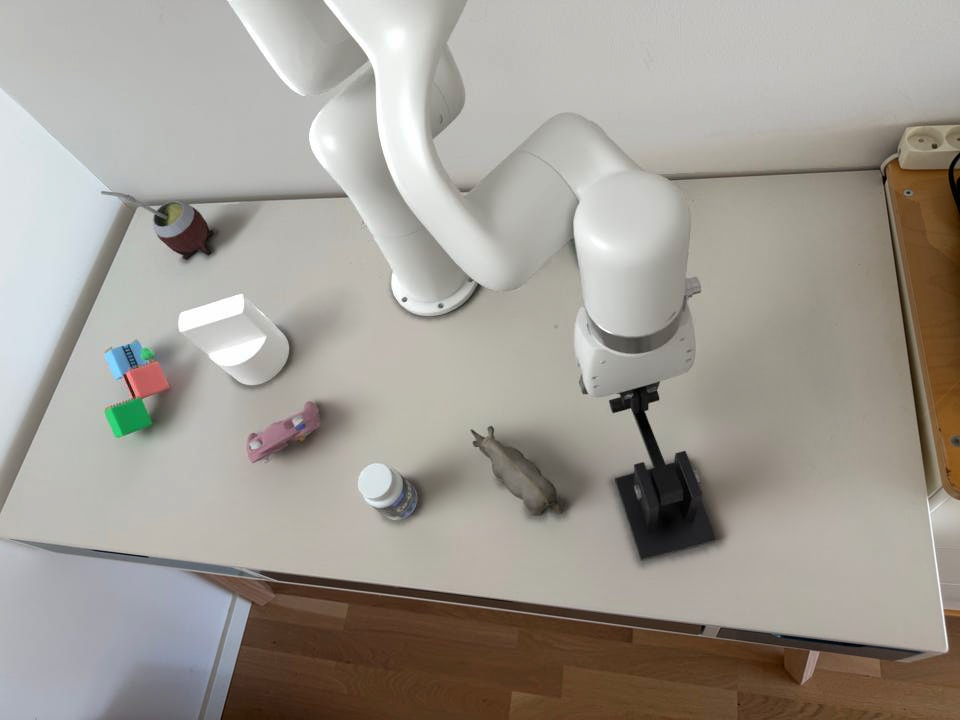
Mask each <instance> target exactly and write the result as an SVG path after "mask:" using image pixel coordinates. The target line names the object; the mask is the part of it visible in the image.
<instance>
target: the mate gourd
mask: <svg viewBox="0 0 960 720" xmlns="http://www.w3.org/2000/svg"><path fill="white" fill-rule="evenodd" d="M100 194H101V195H105V196H113V197H118V198H121V199H125V200H126V201H128V202H129V203H134V204H135V205H137V206H139V207H141V208H142V209H144V210H147V211H148V212H150V213H152V214H153V217H152V227H153V230H154V233H155V235H156V236H157V237H158V239H159V240H160V241H161V242H162V243H164V244H165V245H166V246H167V248H169V249H170V250H172V251H173V252H175V253H176V254H179V255H181V256H182V259H184V260H185V261H188V260H189V259H190V258H191V257H192V256H193V255H194V254H195V253H197V252H198V251H199V250H200V251H201V252H202V253H203V254H205V255H206V256H208V257H209V256H210V255H211V254H212V251H211V250H210V249H209V248H208V247H206V246H205V244H206V243H207V242H208V241H209V240H210V239H211V238H212V237H213V236H215V232H214V231H213V229H210V227H209V225H208V223H207V221H206V219H205V217H203V215H202V214H201V212H200V211H199V210H198V209H196V208H195V207H193V205H191V204H189V203H188V202H185V201H181V200H171V201H167V202H165V203H163V204H162V205H161V206H159V207H158V208H157V209H154V208H152V207H150V206H149V205H147V204H145V203H144V202H142V201H139V200H138V199H136V198H135V197H134V196H132V195H130V194H125V193H121V192H116V191H106V190H101V191H100Z"/></svg>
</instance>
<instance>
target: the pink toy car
mask: <svg viewBox="0 0 960 720" xmlns="http://www.w3.org/2000/svg"><path fill="white" fill-rule="evenodd" d="M319 422H320V411H319V408H318V406H317V405H316V404H315V403H314V402H313V401H311V400H308V401H306V402H305V403H304V407H303V410H302V411H300V412H298V413H296V414H294V415H291V416H289V417H288V418H286V419H283V420H279V421H275V422H273V423H271V424H270V425H269V426H268V427H266V428H265V429H264V430H263V432H261V433H259V434H258V433H255V432H252V433H250V434H248V437H247V442H246V448H245V449H246V452H247V457H248V458H249V460H250V462H251V463H252V464H255V463H257V462H262V464H268V463H270V462H271V461H272V459H273V457H271V456H272V455H273V454H275V453H277V452H279V451H281V450H283V449H285V448H286V447H288V446H289V444H288V442H287V441H289V440H291V439H292V441H293V442H297V441H300V442H302V441H305V440H306V438H307V437H306V436H308V435H309V434H311V433H313V431H314V430H316V429H318V428H320V424H319Z"/></svg>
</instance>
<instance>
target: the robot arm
mask: <svg viewBox="0 0 960 720" xmlns="http://www.w3.org/2000/svg"><path fill="white" fill-rule="evenodd" d="M226 2H227V3H228V4H229V6H230V7H231V9H232V10H233V12H234V13H235V15H236V16H237V17H238V19H239V20H240V22H241V24H242V25H243V26H244V28H245V30H246V31H247V32H248V34H249V35H250V36H251V38H252V39H253V41H254V42H255V44H256V46H257V47H258V49H259V50H260V51H261V53H262V54H263V56H264V57H265V59H266V60H267V61H268V63H269V64H270V66H271V67H272V68H273V70H274V72H275V73H276V74H277V75H278V76H279V77H280V79H281V81H283V82H284V84H286V85H287V86H288V87H289V88H290V89H291V90H292V91H293V92H295V93H297V94H299V95H300V96H304V97H308V98H312V97H319V96H321V95H323V94H326V93H328V92H330V91H331V90H333V89H334V88H336V87H338V86H339V85H340V84H342V83H343V82H344V81H345V80H347V79H348V78H349V77H351V76H352V75H353V74H354V73H355V72H357V71H358V70H359V69H361V67H363V66H364V65H365V64H366V63H368V62H369V61H370V64H371V66H370V67H369V68H367V69H366V70H365V71H364V72H362V73H361V74H359V75H358V76H357V77H356V78H354V79H353V80H352V81H351V82H350V83H349V84H347V85H346V86H345V87H344V88H342V90H340V91H339V92H338V93H337V94H335V96H333V97H332V98H331V99H330V100H329V101H328V102H327V103H326V104H325V105H324V106H323V107H322V108H321V109H320V110H319V112H318V113H317V114H316V116H315V118H314V119H313V121H312V123H311V127H310V129H309V136H308V137H309V145H310V147H311V150H312V152H313V154H314V156H315V157H316V159H317V161H318V162H319V163H320V165H321V166H322V168H323V169H324V170H325V171H326V172H327V173H328V174H329V175H330V176H331V178H332V179H333V180H334V181H335V182H336V183H337V185H338V186H339V187H340V188H341V189H342V191H343V192H344V193H345V194H346V196H347V197H348V199H349V200H350V201H351V202H352V204H353V206H354V207H355V209H356V211H357V212H358V214H359V215H360V217H361V218H362V220H363V222H364V224H365V226H366V227H367V229H368V230H369V232H370V233H371V235H372V238H373V239H374V241H375V243H376V244H377V246H378V248H379V249H380V251H381V253H382V254H383V256H384V258H385V260H386V262H388V265H389V266H390V268H391V270H392V273H391V279H390V282H391V283H390V285H391V290H392V293H393V296H394V297H395V299H396V301H397V302H398V303H399V305H400V306H401V307H402V308H403V309H405V310H406V311H408V312H410V313H412V314H413V315H418V316H421V317H423V316H424V317H433V316H435V317H437V316H441V315H444V314H448V313H449V312H452V311H454V310H456V309H458V308H459V307H461V306H463V305H464V303H466V302H467V301H468V300H469V299H470V297H471V296H472V295H473V294H474V292H475V290H476V288H477V286H478V284H479V285H480V286H482V287H484V288H486V289H488V290H490V291H495V292H499V293H505V292H510V291H513V290H517V289H519V288H521V287H522V286H524V285H525V284H527V283H528V282H529V281H530V280H532V279H533V277H535V276H536V275H537V273H538V272H540V270H542V269H543V268H544V267H545V266H546V265H547V264H548V263H549V262H550V261H551V260H552V259H553V258H554V257H556V255H557V254H558V253H559V252H560V251H562V250H563V248H564V247H565V246H567V244H568V243H569V242H570V241H572V238H573V237H574V239H575V246H576V250H575V253H576V252H577V253H576V258H577V264H578V271H579V278H580V283H581V285H580V286H581V291H582V299H583V302H584V303H583V305H582V306H581V307H579V310H578V312H577V314H576V318H575V321H574V329H573V347H574V356H575V361H576V365H577V367H580V369H581V374H580V377H579V381H578V384H579V388H580V391H581V393H582V395H589V396H591V397H593V398H604V397H609V396H612V395H619V397H621V400H622V403H623V405H624V406H625V405H628V404H630V407H631V409H630V410H631V413H632V415H633V414H637V413H638V412H639V411H640V409H641V411H643V412H644V411H645V412H647V411H649V409H650V407H649V405H650V403H649V399H650V398H653V392H654V391H656V390H657V391H658V389H659V387H660V385H661V382H663V381H667V380H670V379H673V378H675V377H679V376H681V375H684V374H686V373H688V372H689V371H690V370H691V369H692V367H693V366H694V364H695V360H696V352H697V350H696V349H697V346H696V334H695V326H694V321H693V317H692V313H691V309H690V306H689V303H688V301H689V299H690V298H693V296H694V295H698V294H702V285H701V282H700V279H699V278H698V276H692V277H689V278H687V269H688V260H689V249H690V241H691V240H690V239H691V229H692V214H691V208H690V204H689V202H688V200H687V197H686V196H685V195H684V192H682V190H681V188H680V187H678V185H676V184H675V183H674V182H673V181H671V180H670V179H669V178H667V177H665V176H663V175H661V174H659V173H656V172H652V171H648V170H645V169H643V168H642V166H640V164H638V163H637V162H636V161H635V160H633V158H631V157H630V156H629V155H628V154H627V153H626V152H625V151H624V150H623V149H622V148H621V147H620V146H619V145H618V144H617V143H616V142H615V141H614V140H613V139H612V138H611V137H610V136H608V134H607V133H606V131H605V130H604V129H603V128H602V127H601V126H600V125H599V124H597V123H596V122H594V121H593V120H591V119H588V118H586V117H585V116H583V115H581V114H578V113H575V112H569V111H568V112H567V111H566V112H560V113H557V114H555V115H554V116H551V117H550V118H548V119H547V120H546V121H544V122H543V123H542V124H541V125H540V126H538V128H537V129H536V130H534V131H533V133H531V134H530V135H529V136H528V137H526V139H525V140H524V141H523V142H522V143H520V145H518V146H517V147H516V148H515V150H513V151H512V152H511V153H510V154H509V155H507V156H506V157H505V158H504V159H503V160H502V161H501V162H500V163H498V164H497V165H496V166H495V167H494V168H493V169H492V170H490V172H489V173H488V174H486V175H485V176H484V177H483V178H482V179H481V180H480V181H479V182H478V183H476V184H475V186H473V187H472V188H471V189H470V190H468V191H467V193H466V194H465V195H464V194H463V193H462V192H461V191H460V189H459V188H458V187H457V185H456V184H455V183H454V181H453V180H452V179H451V177H450V175H449V174H448V172H447V170H446V169H445V167H444V165H443V163H442V161H441V159H440V156H439V154H438V152H437V148H436V146H435V142H434V139H435V138H437V136H439V135H440V134H442V132H443V131H444V130H446V129H447V128H448V127H449V126H450V125H451V124H452V123H453V122H454V121H455V120H456V119H457V118H458V117H459V115H461V112H462V111H463V110H464V107H465V103H466V89H465V84H464V81H463V77H462V75H461V73H460V70H459V68H458V65H457V63H456V61H455V59H454V56H453V54H452V51H451V50H450V49H451V48H450V47H449V45H448V41H449V40H450V37H451V36H452V34H453V32H454V29H455V27H456V25H458V24H457V23H458V22H459V20H460V18H461V16H462V14H463V12H464V10H465V7H466V5H467V2H468V0H226Z"/></svg>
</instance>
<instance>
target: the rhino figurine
mask: <svg viewBox="0 0 960 720" xmlns="http://www.w3.org/2000/svg"><path fill="white" fill-rule="evenodd" d="M470 433H471V435H473V437H474V439H475V440H473V441H472V442H471V443H472V445H473V447H475V448H478V449H479V451H480V452H481V453H483V455H484V456H485V457H487V458H488V459H490V462H491V468H492V473H493V475H494V476H495V477H496V478H497V479H499V480H500V482H501V483H502V484H504V485H505V487H506V488H507V491H509V492H510V494H512V495H513V496H514V497H516V498H518V499H520V500H522V501H523V504H524V505H525V507H526V508H527V509H528V511H529V514H530V515H531V516H535V517H539V516H541V515H542V513H543V511H544V510H545V509H546V507H547V506H550V509H551V511H553V512H554V513H556V514H559V515H560V514H562V512H563V511H564V502H562V501H561V500H559V499H558V493H557V492H558V491H557V489H556V487H555V485H554V483H553V482H552V481H551V480H549V478H547V477H546V476H544V475H543V474H542V471H541V470H540V468H539V467H538V466H537V465H536V463H533V462H532V461H531V460H529V459H528V458H527V457H526V456H525V454H524V453H523V452H522V451H521V450H520V449H518V448H516V447H513V446H509V445H505V444H503V443H502V442H500V441H499V440H497V439H496V438H495V428H494V427H493V425H489V426H488V427H487V433H488V434H487V436H486V437H485V436H482V435H481V434H479V433H478V432H477V431H475V430H474V429H472V428H471V429H470Z"/></svg>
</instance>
